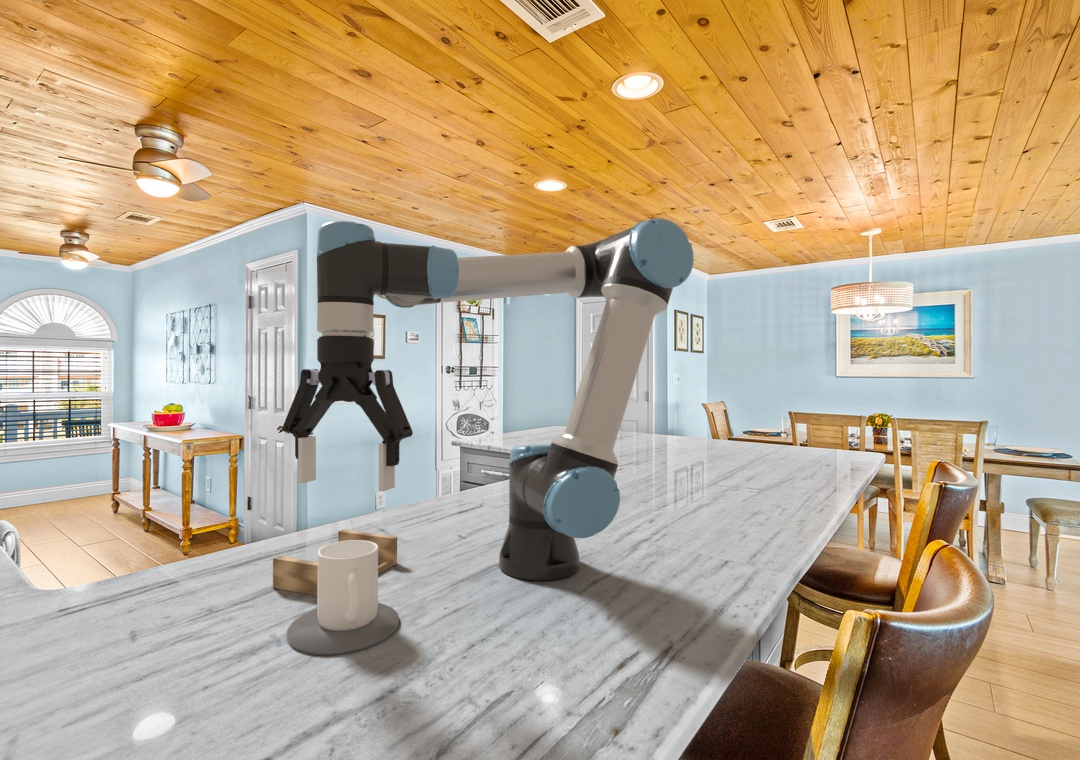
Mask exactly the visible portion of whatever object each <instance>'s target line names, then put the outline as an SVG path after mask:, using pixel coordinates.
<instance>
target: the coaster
mask: <svg viewBox="0 0 1080 760" xmlns="http://www.w3.org/2000/svg"><path fill="white" fill-rule="evenodd" d="M399 617H400V615H399V614H398V612H397V611H396V610H395V609H394V608H392V607H391V606H389V605H387V604H384V603H380V602H378V610H377V615H376V617H375V618H374V620H373V621H372V622H370V623H369V624H367V625H366V626H363V627H361V628H358V629H354V630H349V631H331V630H327V629H325V628H323V627H322V626H321V625H320V624H319V622H318V616H317V608H315V609H312V610H310V611H308V612H306V613H304V614H301V616H299V617H297V618H296V619H295V620H294V621H292V622H291V624H289V626H288V628H287V630H286V641H287V643H288V645H289V646H290V647H291V648H293V649H294V650H295V651H298V652H301V653H304V654H307V655H313V656H338V655H346V654H351V653H352V654H353V653H356V652H359V651H363V650H366V649H369V648H372V647H374V646H377V645H378V644H381V643H382V642H384V641H386V640H387V639H389V638H390V637H391V636H392V635H393V634H394V633H395V632H396V630H397V629H398V627H399V624H400V623H399V622H400V620H399V619H400V618H399Z"/></svg>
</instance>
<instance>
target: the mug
mask: <svg viewBox="0 0 1080 760" xmlns="http://www.w3.org/2000/svg"><path fill="white" fill-rule="evenodd" d="M317 561H318V588H317V596H316V597H317V600H316V602H317V608H316V609H317V616H318V622H319V624H320V625H321V626H322V627H323V628H325V629H327V630H331V631H349V630H354V629H358V628H361V627H363V626H366V625H367V624H369V623H370V622H372V621H373V620H374V618H375V617H376V615H377V610H378V603H379V574H378V566H379V563H378V545H377V544H376V543H373V542H370V541H364V540H348V541H340V542H338V541H337V542H332V543H329V544H326V545H323V546H322V547H320V548H319V549H318V550H317Z"/></svg>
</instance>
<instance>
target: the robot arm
mask: <svg viewBox="0 0 1080 760" xmlns="http://www.w3.org/2000/svg"><path fill="white" fill-rule="evenodd" d="M319 227H320V228H318V232H317V247H316V248H317V250H316V283H317V284H316V288H317V289H316V291H317V292H316V293H317V295H316V296H317V306H316V308H317V309H316V311H317V314H316V331H317V332H318V333H321V336H318V338H317V339H316V343H317V344H316V346H317V347H316V349H317V350H316V352H317V353H316V356H317V362H319V364H320V369H317V368H309V369H308V368H304V369H301V371H300V377H299V386H298V387H297V389H296V390H297V391H296V393H295V395H294V398H293V400H292V403H291V406H290V408H289V410H288V412H287V416H286V418H285V420H284V423H283V425H282V430H283V432H284V433H290V434H292V436H293V437H294V456H295V459H296V460H298V461H297V463H298V465H297V470H298V473H297V475H298V476H297V477H298V480H297V481H298V484H307V483H309V482H314V481H316V480H317V436H315V435H314V434H315V432H313V431H314V430H315V429H316V427H317V426H318V424H319V423H320V421H321V420H322V418H323V417H324V416H325V414H326V413H327V412H328V411H329V410H330V407H331V406H332V404H334V403H336V402H345V403H355V404H356V405H357V406H359V407H360V408H361V409H362V411H363V412H364V414H365V415H366V417H367V418H368V420H369V421H370V423H371V424H372V425H373V427H374V428H375V429H376V431H377V433H378V434H379V435H380V437H381V439H382V441H381V442H379V443H378V492H386V491H388V490H391V489H394V488H396V487H395V486H396V480H395V479H396V478H395V477H396V475H395V474H396V472H395V471H396V468H395V467H396V466H398V465H399V464H400V443H401V441H403V440H404V439H407V438H410V437H412V436H413V434H414V433H413V429H412V427H411V425H410V422H409V419H408V418H407V415H406V412H405V409H404V407H403V406H402V402H401V400H400V399H399V395H398V393H397V391H396V389H395V386H394V379H393V372H392V370H390V369H380V370H379V369H377V370H375V371H373V369H372V364H373V362H374V357H375V356H374V355H375V354H374V352H375V351H374V350H375V348H374V347H375V346H374V344H375V342H374V339H373V338H372V337H370V335H372V334H373V333H374V330H375V329H374V305H375V304H374V303H375V302H374V297H375V296H376V295H377V296H384V298H385V299H386V301H387V302H388V303H390V304H391V305H393V306H395V307H397V308H401V309H402V308H404V309H405V308H406V309H407V308H413V307H414V306H419V305H430V304H442V303H454V302H464V301H465V302H466V301H477V300H491V299H493V300H494V299H504V298H516V297H517V298H518V297H529V296H542V295H555V294H568V295H569V296H570V297H571V298H586V297H588V298H589V297H590V298H591V297H592V298H593V297H595V298H599V297H600V298H603V297H604V299H605V305H604V308H603V310H602V315H601V317H600V319H599V324H598V326H597V330H596V333H595V335H594V339H593V343H592V345H591V348H590V351H589V354H588V357H587V361H586V364H585V366H584V370H583V372H582V376H581V379H580V382H579V386H578V388H577V392H576V396H575V397H574V400H573V401H574V402H573V404H572V408H571V411H570V414H569V417H568V419H567V422H566V427H565V429H564V432H563V434H562V435H560V436H558V437H557V438H555V439H552V440H551V443H550V444H529V445H528V444H527V445H516V446H514V447H512V449H511V450H510V453H509V454H510V455H509V462H508V467H509V480H508V481H509V485H508V486H509V487H508V490H509V492H508V493H509V494H508V495H509V496H508V497H509V498H508V499H509V500H508V501H509V502H508V503H509V504H508V515H509V516H508V528H507V531H506V533H505V537H504V538H503V542H502V545H501V548H500V552H499V555H498V556H499V557H498V558H499V559H498V560H499V563H498V566H499V569H500V571H502V572H503V573H504V574H506V575H507V576H510V577H513V578H516V579H519V580H520V579H521V580H525V581H542V582H543V581H555V580H560V579H564V578H568V577H571V576H572V575H575V574H576V573H577V572H578V571H579V570H580V553H579V550H578V547H577V546H578V545H577V542H576V539H585V538H591V537H593V536H595V535H597V534H599V533H601V532H602V531H604V530H606V529H607V528H608V527H609V526H610V524H611V523H612V522H613V520H614V519H615V517H616V515H617V513H618V511H619V508H620V502H621V492H620V489H619V487H618V483H617V481H616V480H615V476H616V473H617V470H618V467H619V460H618V458H617V456H616V454H615V451H614V448H615V444H616V442H617V438H618V435H619V432H620V429H621V425H622V423H623V419H624V415H625V413H626V409H627V407H628V406H627V405H628V403H629V400H630V396H631V393H632V390H633V387H634V384H635V380H636V377H637V375H638V370H639V368H640V365H641V361H642V358H643V354H644V352H645V347H646V346H647V342H648V340H649V335H650V332H651V329H652V326H653V322H654V319H655V317H656V316H657V315H659V314H661V313H662V312H665V311H666V310H667V309H668V305H669V302H670V299H671V295H672V293H673V290H674V288H677V287H678V286H680V285H682V284H683V283H684V282H685V281H686V280H687V279H688V278H689V277H690V274H691V273H692V270H693V267H694V249H693V245H692V243H690V242H689V241H690V240H689V239H688V235H687V233H686V232H685V230H684V229H683V228H682V227H681V226H679V225H678V224H677V223H675V222H674V221H671V220H670V219H666V218H663V217H661V218H660V217H657V218H651V219H648V220H642V221H641V220H640V221H638V222H637V223H636V224H634V226H632V227H629V228H627V229H624V230H622V231H620V232H617V233H615V234H612V235H610V236H608V237H606V238H604V239H601V240H598V241H595V242H591V243H589V244H583V245H571V246H569V247H568V248H567V249H566V250H565V251H561V252H541V253H539V252H538V253H523V254H520V253H519V254H504V255H485V256H484V255H483V256H467V257H458V255H457V253H456V252H455V250H453V249H450V248H444V247H437V246H435V245H431V246H427V245H418V244H417V245H414V244H402V243H390V242H381V241H379V240H376V237H375V233H374V230H373V228H371V227H370V226H369V225H368V224H364V223H358V222H357V223H356V221H348V220H346V221H345V220H336V221H335V220H334V221H328V222H326V223H323V224H322V225H321V226H319ZM319 384H320V385H321V387H320V388H319ZM371 385H373V386H375V389H376V393H377V395H378V397H377V395H376V394H375V392H374V391H373V389H372V387H371ZM318 388H319V390H318ZM378 398H379V400H380V402H381V404H380V402H379V401H378Z"/></svg>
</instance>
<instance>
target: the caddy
mask: <svg viewBox="0 0 1080 760" xmlns="http://www.w3.org/2000/svg"><path fill="white" fill-rule="evenodd" d="M337 532H338V533H337V542H340V541H348V540H364V541H370V542H373V543H376V544H377V545H378V575H379V574H381V573H382V572H385V571H386V570H389V568H392V567H393V566H395V565H396V564H398V536H392V535H386V534H385V535H384V534H377V533H368V532H363V531H355V530H347V529H341V530H338V531H337ZM317 588H318V560H316V561H311V560H305V559H299V558H293V557H287V556H281V555H278V556H276V557H273V558H272V589H276V590H283V591H288V592H293V593H299V594H304V595H310V596H315V597H317Z"/></svg>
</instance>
